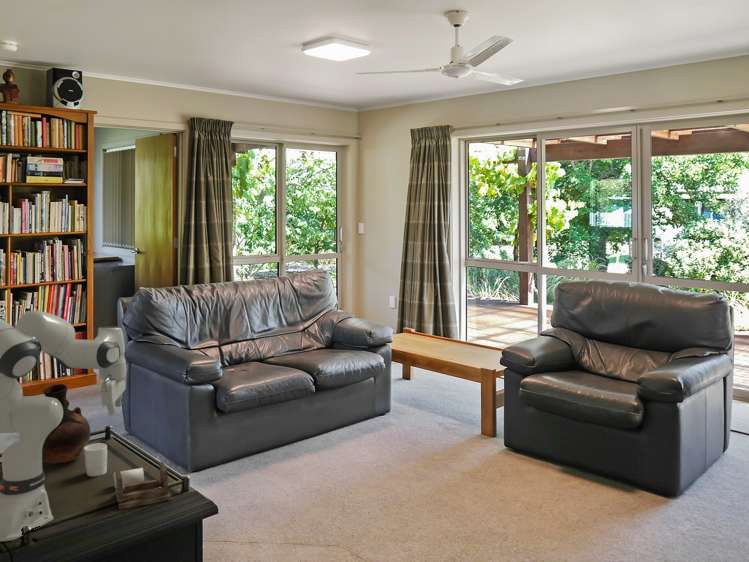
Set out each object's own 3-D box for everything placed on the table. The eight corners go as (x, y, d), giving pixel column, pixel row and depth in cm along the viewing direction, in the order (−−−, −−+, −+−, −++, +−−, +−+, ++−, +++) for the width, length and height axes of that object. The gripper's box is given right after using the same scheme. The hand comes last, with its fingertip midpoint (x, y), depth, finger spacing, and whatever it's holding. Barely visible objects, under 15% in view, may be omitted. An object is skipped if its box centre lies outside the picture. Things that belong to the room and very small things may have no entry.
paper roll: (115, 491, 236) (114, 475, 235) (113, 485, 241) (112, 470, 240) (144, 486, 240) (144, 471, 239) (142, 480, 245) (142, 465, 244)
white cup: (112, 469, 255) (110, 443, 254) (101, 477, 248) (100, 450, 247) (92, 468, 256) (90, 442, 255) (81, 477, 248) (79, 450, 247)
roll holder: (119, 509, 221) (117, 481, 220) (115, 494, 233) (114, 467, 232) (170, 500, 228) (169, 472, 227) (164, 485, 240) (163, 459, 239)
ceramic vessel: (84, 448, 277) (80, 376, 274) (98, 461, 264) (94, 384, 261) (27, 461, 264) (22, 385, 261) (39, 475, 251) (34, 395, 247)
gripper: (115, 378, 227) (117, 419, 229) (128, 364, 247) (130, 401, 249) (95, 379, 226) (97, 420, 228) (110, 365, 247) (112, 402, 248)
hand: (115, 410), depth 239 cm, fingers open, 8 cm apart
